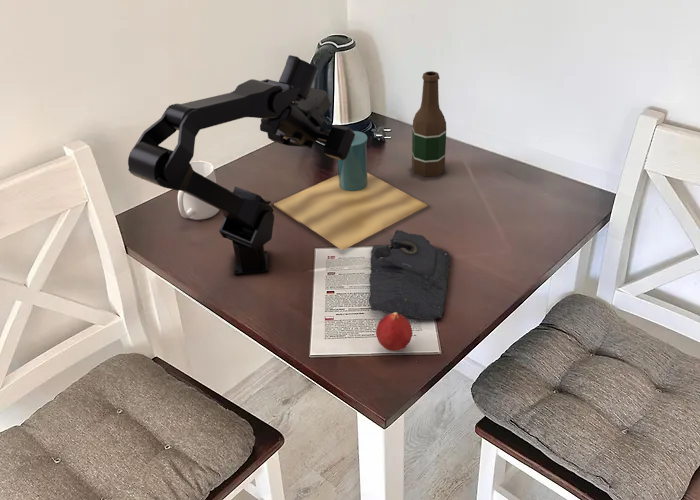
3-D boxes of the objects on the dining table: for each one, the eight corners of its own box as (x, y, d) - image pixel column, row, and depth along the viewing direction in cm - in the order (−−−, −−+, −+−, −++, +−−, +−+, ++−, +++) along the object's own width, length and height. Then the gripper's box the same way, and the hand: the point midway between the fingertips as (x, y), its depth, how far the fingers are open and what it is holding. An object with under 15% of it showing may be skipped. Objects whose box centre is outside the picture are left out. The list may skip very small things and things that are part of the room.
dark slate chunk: (356, 317, 115) (355, 297, 112) (374, 244, 133) (373, 225, 130) (444, 325, 113) (445, 304, 110) (451, 249, 130) (452, 230, 127)
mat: (428, 207, 143) (428, 205, 142) (342, 252, 131) (342, 250, 131) (356, 168, 158) (356, 166, 158) (274, 205, 146) (273, 203, 146)
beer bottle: (408, 177, 154) (409, 78, 139) (415, 161, 160) (417, 65, 145) (441, 181, 152) (445, 81, 137) (447, 165, 158) (452, 68, 143)
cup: (227, 202, 148) (220, 162, 142) (202, 232, 139) (193, 191, 133) (194, 198, 150) (186, 158, 144) (167, 227, 141) (157, 186, 135)
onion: (369, 351, 108) (368, 315, 104) (389, 332, 112) (389, 296, 107) (398, 366, 105) (399, 330, 101) (418, 346, 109) (419, 309, 104)
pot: (374, 186, 150) (373, 134, 142) (346, 194, 147) (343, 142, 140) (359, 173, 155) (357, 122, 147) (332, 181, 153) (329, 129, 145)
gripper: (347, 89, 121) (380, 123, 135) (269, 73, 130) (308, 106, 144) (324, 145, 120) (360, 173, 134) (248, 125, 129) (289, 153, 143)
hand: (329, 149), depth 139 cm, fingers open, 9 cm apart
